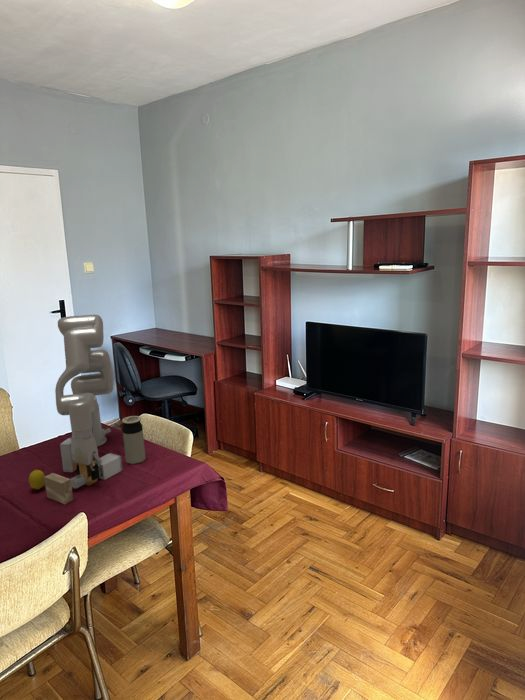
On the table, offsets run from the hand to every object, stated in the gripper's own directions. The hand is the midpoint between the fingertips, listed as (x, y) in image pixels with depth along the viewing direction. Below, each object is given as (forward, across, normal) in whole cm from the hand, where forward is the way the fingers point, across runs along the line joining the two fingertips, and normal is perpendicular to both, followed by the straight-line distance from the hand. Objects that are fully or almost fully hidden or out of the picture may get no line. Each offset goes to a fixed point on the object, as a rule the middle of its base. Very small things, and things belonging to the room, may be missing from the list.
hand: (88, 476), depth 187 cm
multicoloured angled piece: (+2, 0, +3) cm, 4 cm away
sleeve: (+3, 0, +9) cm, 9 cm away
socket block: (+3, 0, -13) cm, 13 cm away
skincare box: (+3, -16, +4) cm, 17 cm away
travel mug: (+3, +1, +22) cm, 23 cm away
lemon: (+3, -13, -12) cm, 18 cm away
